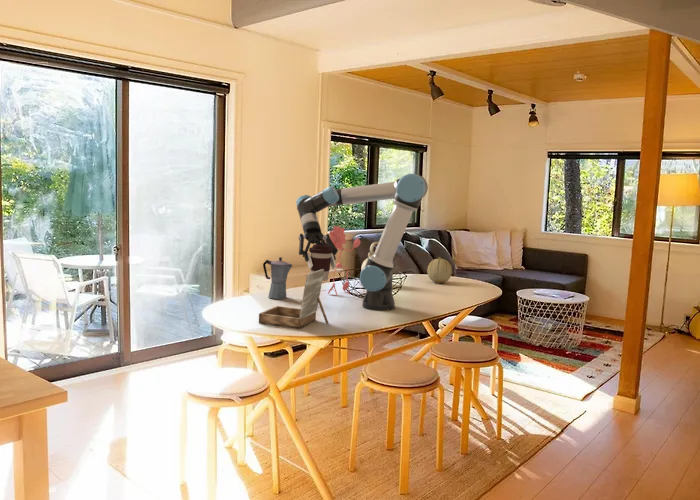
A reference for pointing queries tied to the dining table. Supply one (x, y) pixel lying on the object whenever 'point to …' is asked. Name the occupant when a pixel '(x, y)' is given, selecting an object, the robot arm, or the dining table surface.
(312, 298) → the cold frame
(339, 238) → the figurine
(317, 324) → the dining table surface
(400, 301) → the dining table surface
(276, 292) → the moka pot
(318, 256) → the coffee cup
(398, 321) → the dining table surface
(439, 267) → the cantaloupe
